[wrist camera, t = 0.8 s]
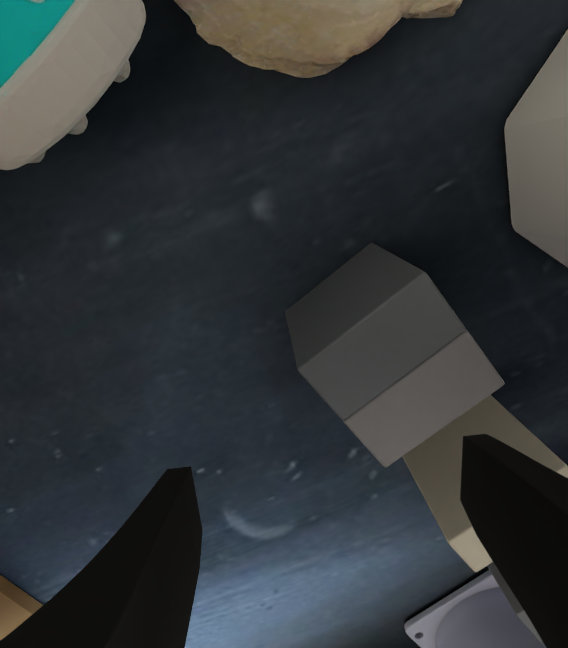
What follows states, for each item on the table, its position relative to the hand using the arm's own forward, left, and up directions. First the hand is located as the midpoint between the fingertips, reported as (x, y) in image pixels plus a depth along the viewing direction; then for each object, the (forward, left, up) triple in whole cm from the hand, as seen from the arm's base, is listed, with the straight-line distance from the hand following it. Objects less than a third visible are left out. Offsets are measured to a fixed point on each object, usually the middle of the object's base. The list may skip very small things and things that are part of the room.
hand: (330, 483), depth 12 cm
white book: (-8, -3, -10) cm, 13 cm away
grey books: (-7, -3, -10) cm, 12 cm away
